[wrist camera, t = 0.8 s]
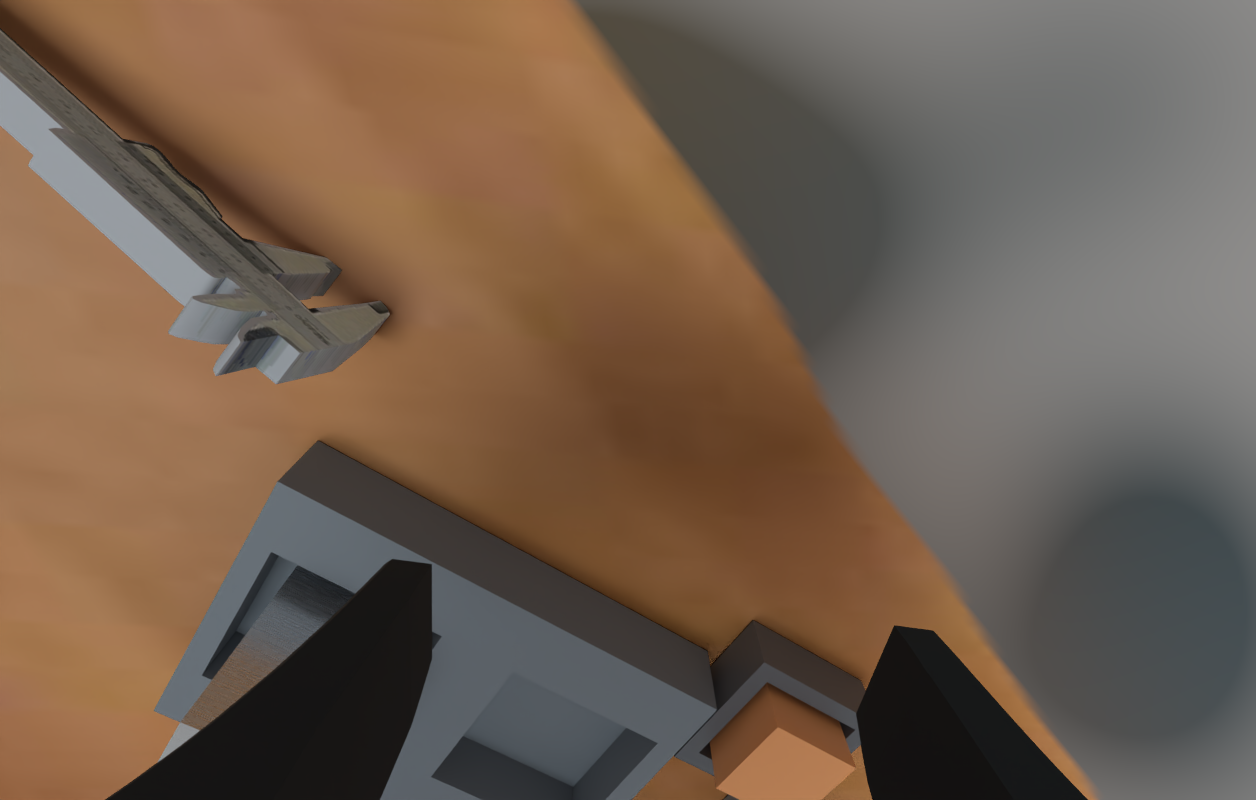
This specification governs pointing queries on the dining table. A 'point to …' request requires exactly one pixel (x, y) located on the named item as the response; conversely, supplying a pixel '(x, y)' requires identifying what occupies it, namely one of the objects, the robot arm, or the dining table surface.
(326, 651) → the robot arm
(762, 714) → the button
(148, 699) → the dining table surface
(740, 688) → the button housing
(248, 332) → the caliper
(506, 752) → the frame
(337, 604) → the block
